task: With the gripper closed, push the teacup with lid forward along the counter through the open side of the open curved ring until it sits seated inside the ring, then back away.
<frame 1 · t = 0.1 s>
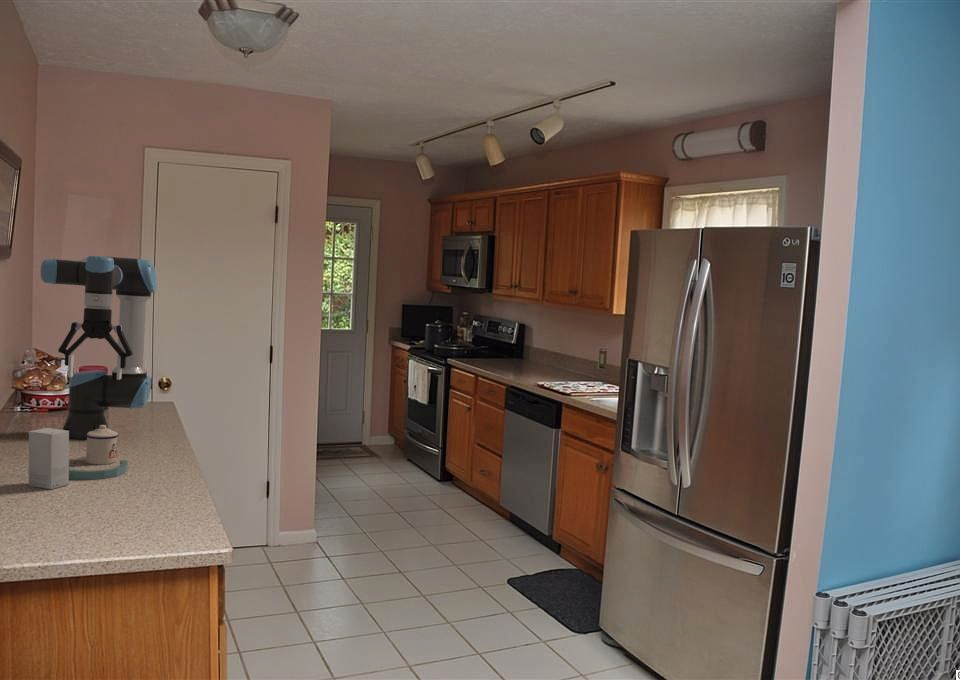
hand: (94, 378, 239), 28 cm above the counter, fingers open, 13 cm apart
skincare box: (47, 486, 220), on the counter
open curved ring: (90, 471, 238), on the counter
teacup with lid: (101, 461, 251), on the counter
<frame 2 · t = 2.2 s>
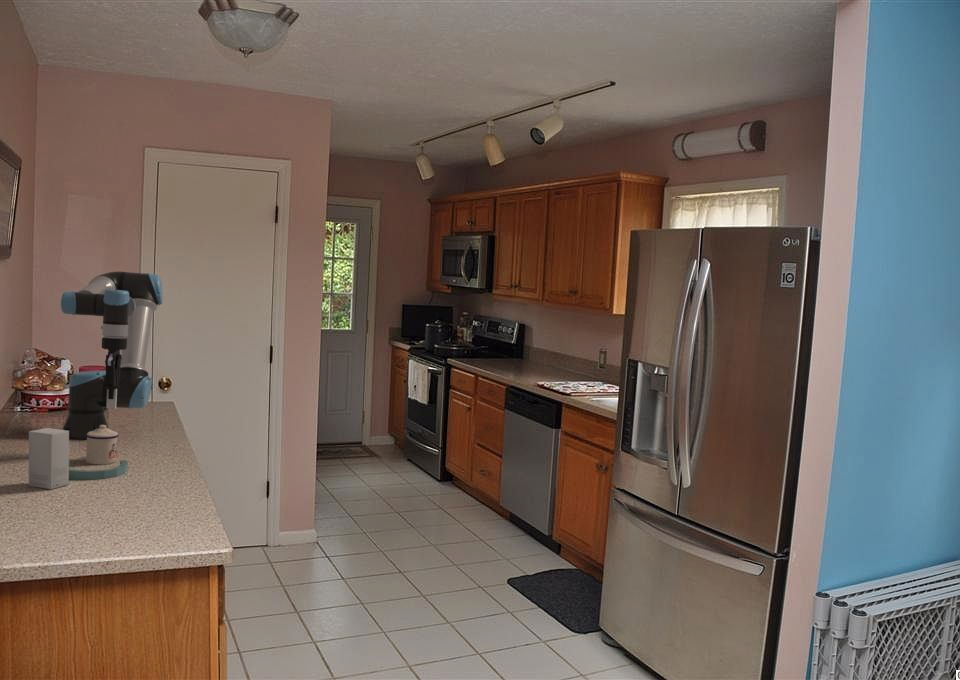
hand: (111, 408, 260), 15 cm above the counter, fingers closed
nothing on the counter moved.
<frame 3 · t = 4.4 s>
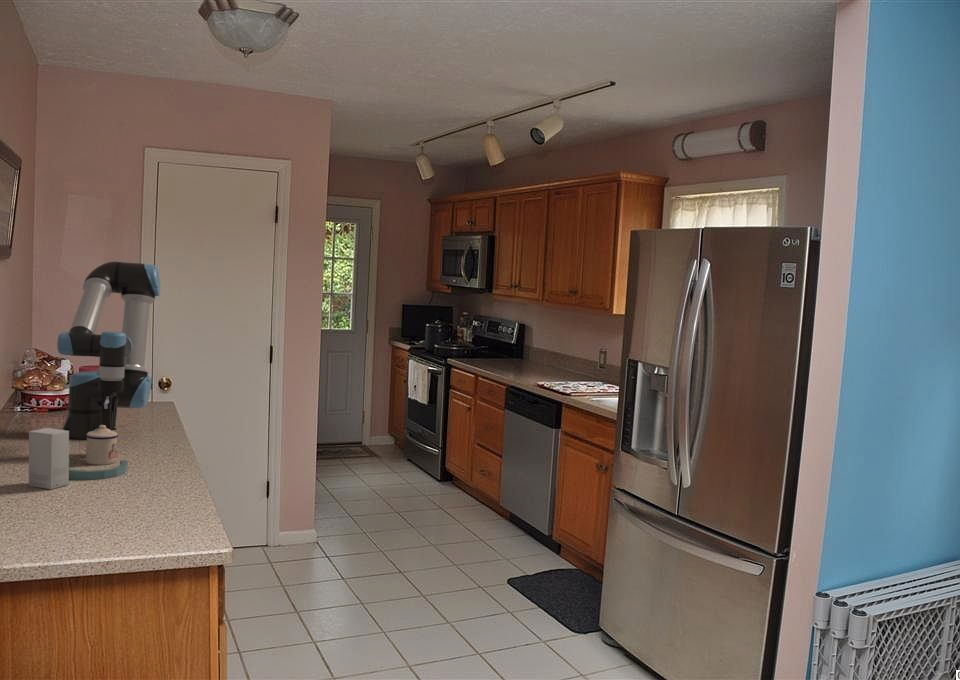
hand: (107, 450, 259), 2 cm above the counter, fingers closed
teacup with lid: (101, 461, 251), on the counter, touching gripper
everything else where it was.
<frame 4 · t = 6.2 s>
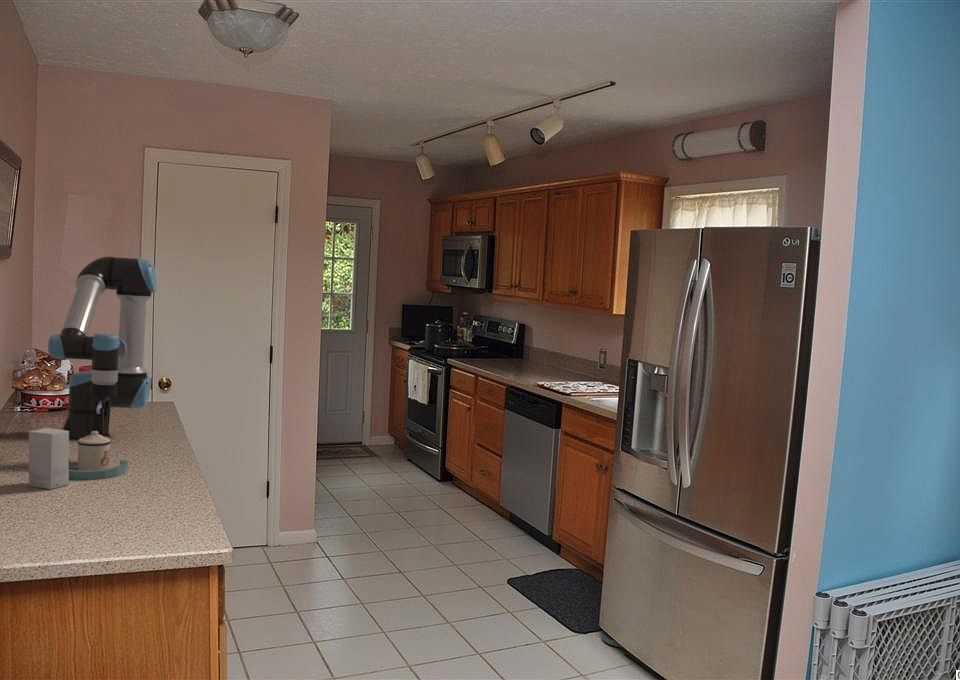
hand: (100, 457, 249), 2 cm above the counter, fingers closed
teacup with lid: (93, 468, 242), on the counter, touching gripper
everything else where it was.
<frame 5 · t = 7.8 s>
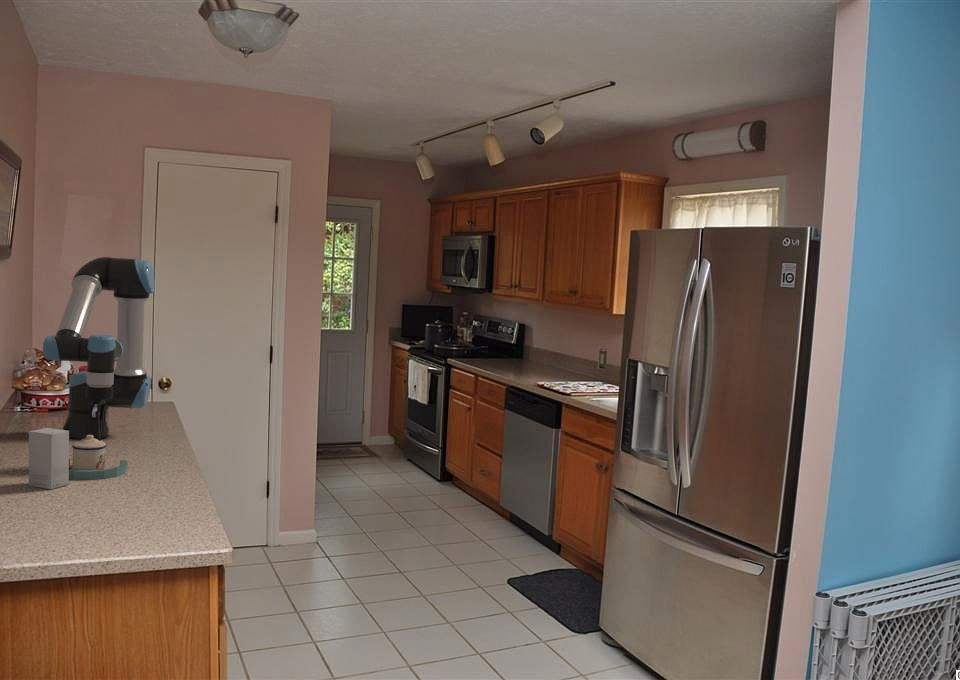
hand: (96, 461, 244), 2 cm above the counter, fingers closed
teacup with lid: (88, 473, 236), on the counter, touching gripper
everything else where it was.
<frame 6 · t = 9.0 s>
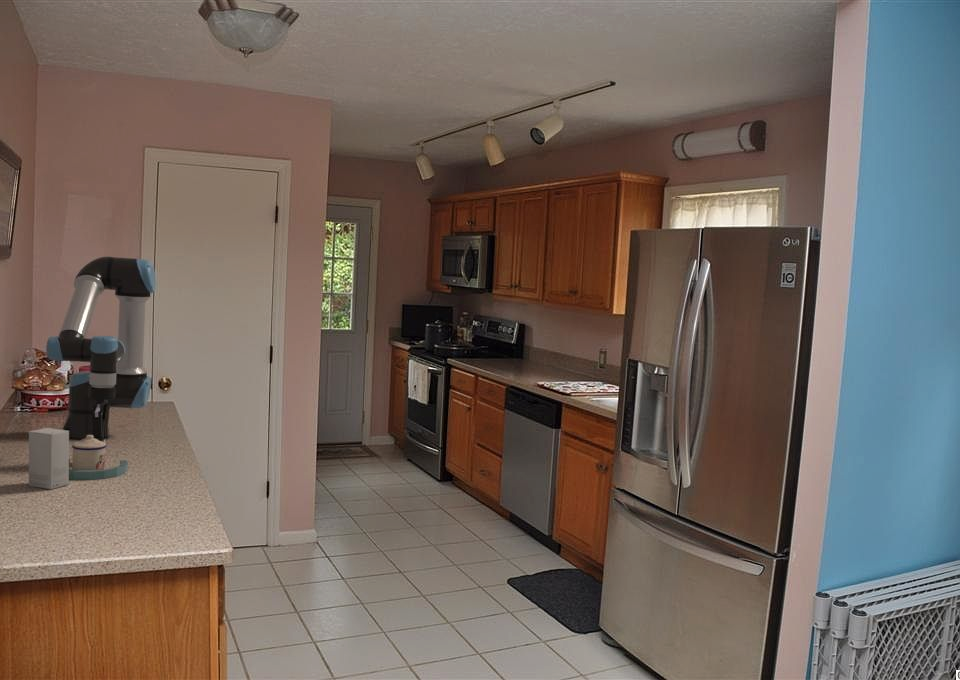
hand: (99, 460, 248), 1 cm above the counter, fingers closed
teacup with lid: (88, 473, 236), on the counter
everything else where it was.
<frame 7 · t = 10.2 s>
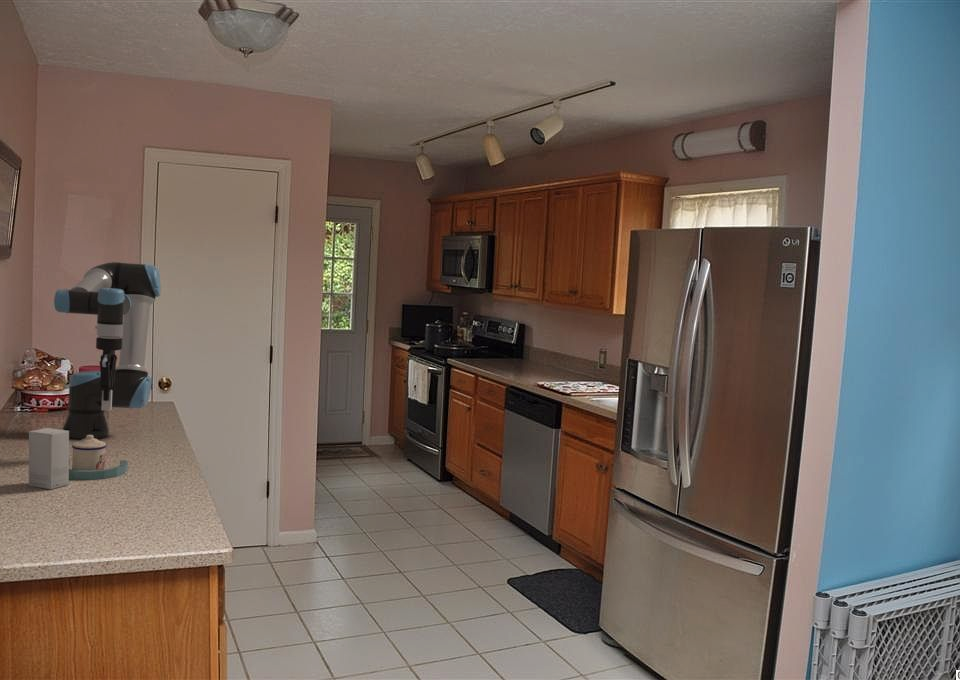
hand: (106, 410, 253), 16 cm above the counter, fingers closed
nothing on the counter moved.
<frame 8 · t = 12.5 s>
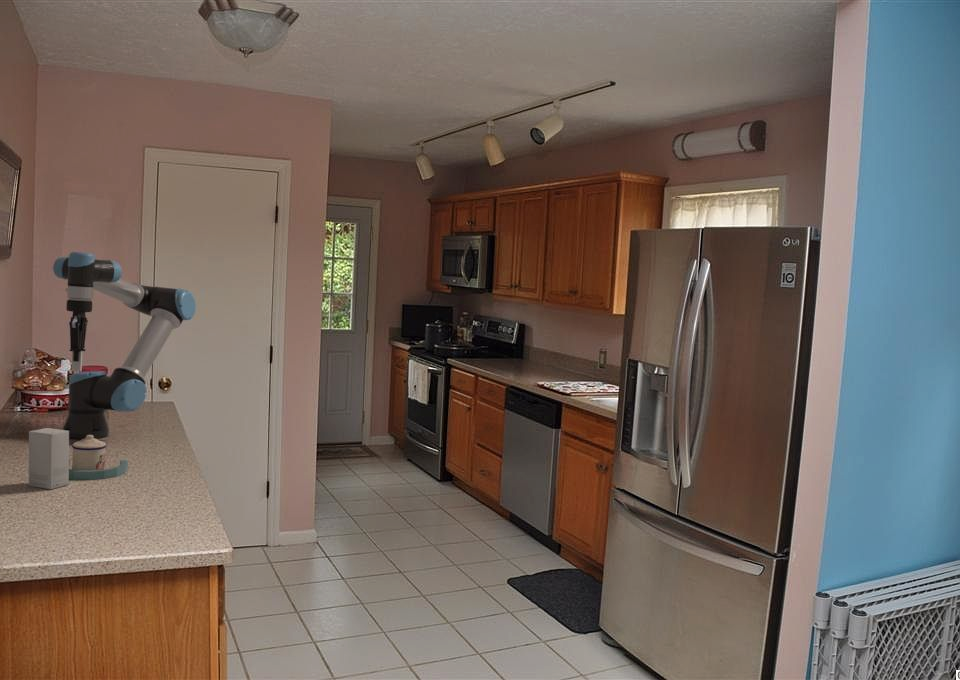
hand: (76, 370, 261), 26 cm above the counter, fingers closed
nothing on the counter moved.
at the end: teacup with lid 1.8 cm from the open curved ring (horizontally); teacup with lid tilted 0°; teacup with lid on the counter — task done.
